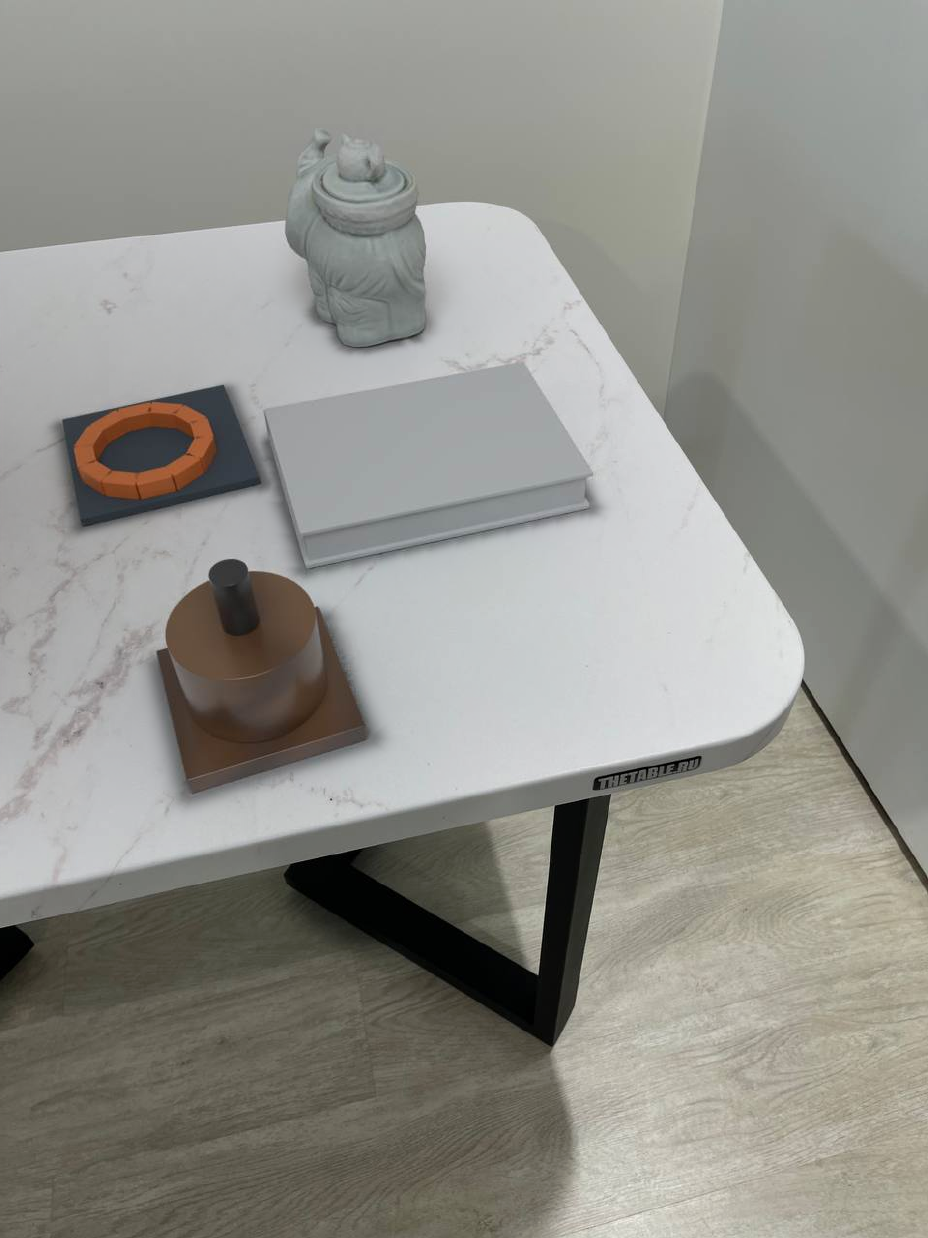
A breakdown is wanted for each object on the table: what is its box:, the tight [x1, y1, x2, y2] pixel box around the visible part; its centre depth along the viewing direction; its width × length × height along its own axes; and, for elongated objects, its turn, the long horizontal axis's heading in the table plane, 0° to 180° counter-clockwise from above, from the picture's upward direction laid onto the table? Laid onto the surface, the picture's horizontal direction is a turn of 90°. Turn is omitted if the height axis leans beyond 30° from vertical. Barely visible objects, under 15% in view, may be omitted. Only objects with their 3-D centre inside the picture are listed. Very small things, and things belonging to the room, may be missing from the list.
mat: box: [61, 384, 262, 527], centre depth 90 cm, size 15×15×1 cm
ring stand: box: [155, 558, 368, 794], centre depth 66 cm, size 12×12×12 cm
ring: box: [74, 402, 217, 500], centre depth 88 cm, size 12×12×2 cm
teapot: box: [284, 127, 427, 348], centre depth 100 cm, size 16×15×19 cm
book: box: [263, 361, 594, 570], centre depth 87 cm, size 18×4×24 cm
